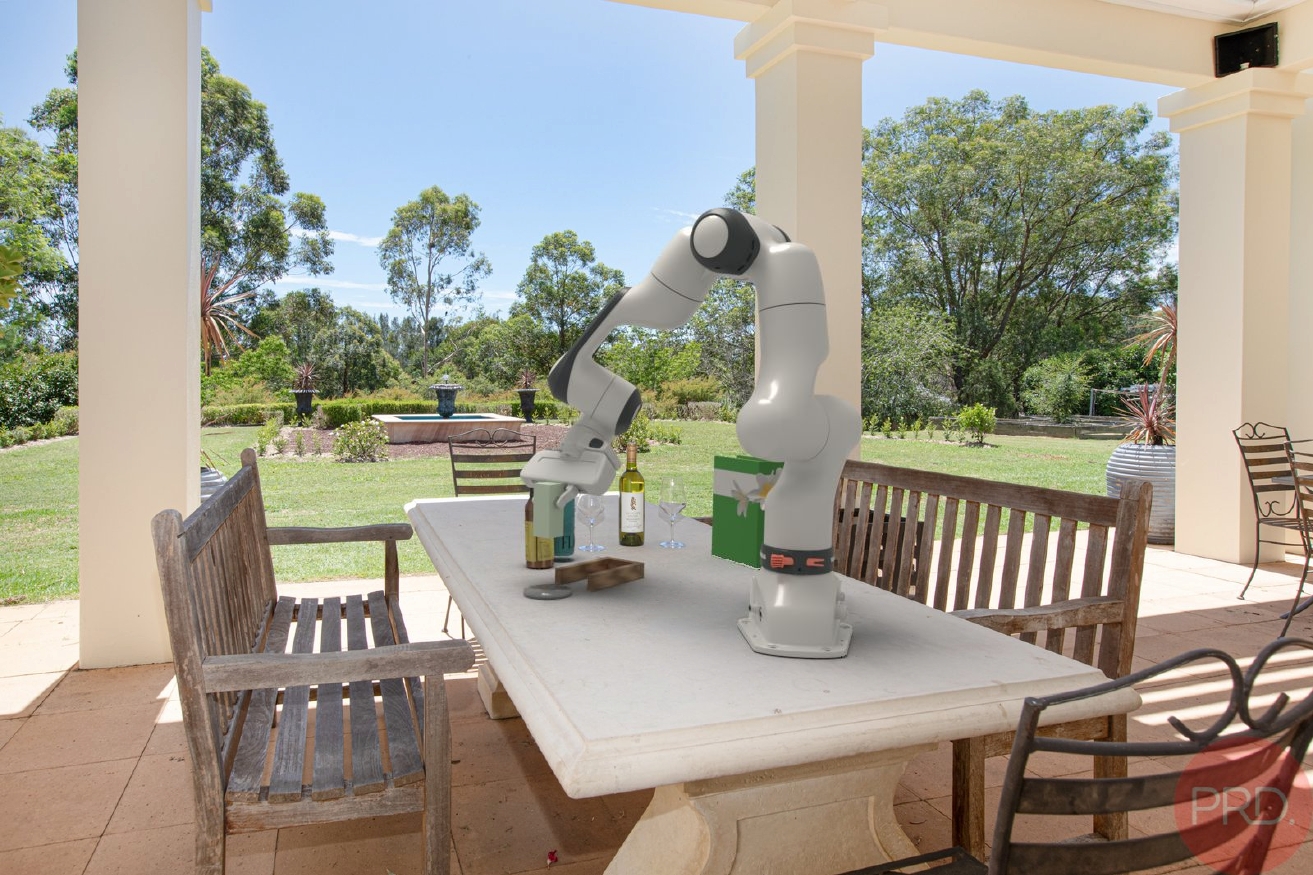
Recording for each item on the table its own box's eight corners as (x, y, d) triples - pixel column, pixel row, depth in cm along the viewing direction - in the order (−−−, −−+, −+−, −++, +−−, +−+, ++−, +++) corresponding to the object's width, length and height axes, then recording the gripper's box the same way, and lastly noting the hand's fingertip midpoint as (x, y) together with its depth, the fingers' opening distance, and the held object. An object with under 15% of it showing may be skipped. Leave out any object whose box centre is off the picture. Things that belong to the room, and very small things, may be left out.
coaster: (565, 600, 156) (565, 596, 156) (517, 598, 157) (517, 594, 157) (575, 589, 165) (575, 585, 165) (530, 587, 166) (530, 583, 166)
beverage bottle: (561, 564, 189) (562, 474, 188) (539, 560, 193) (541, 472, 192) (580, 560, 194) (582, 472, 193) (559, 556, 198) (561, 470, 197)
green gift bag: (711, 555, 203) (714, 455, 202) (736, 553, 207) (739, 455, 206) (756, 570, 188) (759, 461, 187) (782, 567, 192) (785, 461, 190)
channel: (607, 570, 184) (607, 556, 184) (644, 577, 178) (644, 562, 178) (554, 583, 170) (555, 568, 170) (593, 591, 165) (593, 575, 164)
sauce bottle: (556, 564, 189) (558, 475, 188) (550, 570, 183) (552, 478, 181) (527, 563, 189) (529, 474, 188) (520, 568, 183) (522, 477, 182)
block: (547, 533, 164) (548, 481, 163) (563, 535, 161) (564, 483, 161) (532, 535, 160) (533, 483, 160) (548, 538, 158) (549, 485, 157)
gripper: (535, 437, 171) (499, 489, 164) (614, 443, 160) (579, 499, 152) (550, 458, 175) (515, 510, 168) (628, 465, 163) (594, 521, 156)
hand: (546, 505), depth 160 cm, fingers closed on block, 4 cm apart
